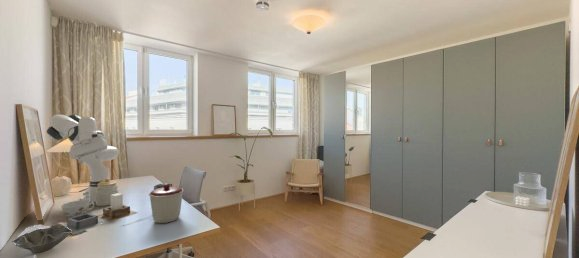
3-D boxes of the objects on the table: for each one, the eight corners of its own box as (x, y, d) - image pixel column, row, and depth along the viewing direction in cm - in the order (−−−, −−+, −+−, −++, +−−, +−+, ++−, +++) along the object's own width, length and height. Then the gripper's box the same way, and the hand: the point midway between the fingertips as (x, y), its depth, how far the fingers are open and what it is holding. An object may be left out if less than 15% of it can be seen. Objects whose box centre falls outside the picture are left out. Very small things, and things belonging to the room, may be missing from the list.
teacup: (62, 222, 135) (62, 208, 135) (60, 216, 143) (60, 203, 143) (96, 214, 146) (96, 201, 146) (92, 210, 154) (92, 197, 154)
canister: (144, 228, 127) (143, 188, 127) (153, 215, 145) (153, 181, 144) (181, 224, 132) (180, 186, 132) (186, 212, 149) (185, 179, 149)
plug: (110, 214, 144) (110, 194, 144) (118, 212, 147) (117, 193, 147) (115, 216, 142) (115, 195, 141) (122, 213, 145) (122, 194, 145)
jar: (98, 201, 172) (98, 177, 171) (120, 199, 177) (120, 175, 177) (92, 207, 160) (92, 181, 160) (116, 204, 165) (116, 179, 165)
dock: (56, 228, 126) (56, 219, 126) (90, 218, 140) (90, 210, 140) (73, 235, 119) (73, 225, 119) (107, 224, 132) (107, 215, 132)
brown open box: (94, 217, 142) (94, 209, 142) (121, 209, 155) (121, 202, 155) (111, 223, 134) (111, 214, 134) (138, 214, 147) (138, 206, 147)
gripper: (66, 143, 144) (66, 164, 139) (101, 132, 147) (103, 153, 142) (74, 147, 150) (75, 167, 145) (108, 136, 153) (110, 156, 148)
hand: (89, 160), depth 143 cm, fingers open, 8 cm apart
